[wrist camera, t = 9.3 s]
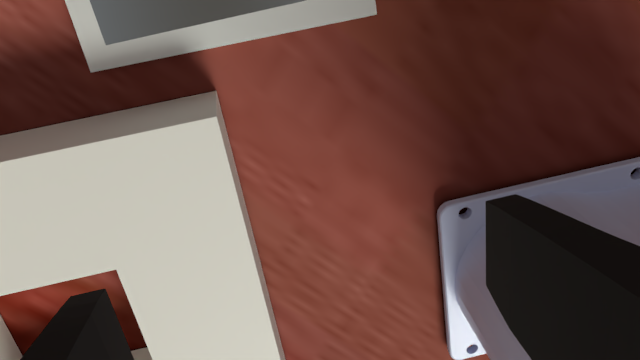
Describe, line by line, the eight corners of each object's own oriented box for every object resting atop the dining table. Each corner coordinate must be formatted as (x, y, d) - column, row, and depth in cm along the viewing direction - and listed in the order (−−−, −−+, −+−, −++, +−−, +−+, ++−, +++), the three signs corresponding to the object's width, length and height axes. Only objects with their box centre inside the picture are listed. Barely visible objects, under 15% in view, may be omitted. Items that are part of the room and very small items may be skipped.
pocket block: (216, 90, 19) (216, 116, 17) (293, 391, 25) (301, 438, 23) (-230, 183, 18) (-292, 224, 16) (-31, 472, 24) (-55, 529, 22)
